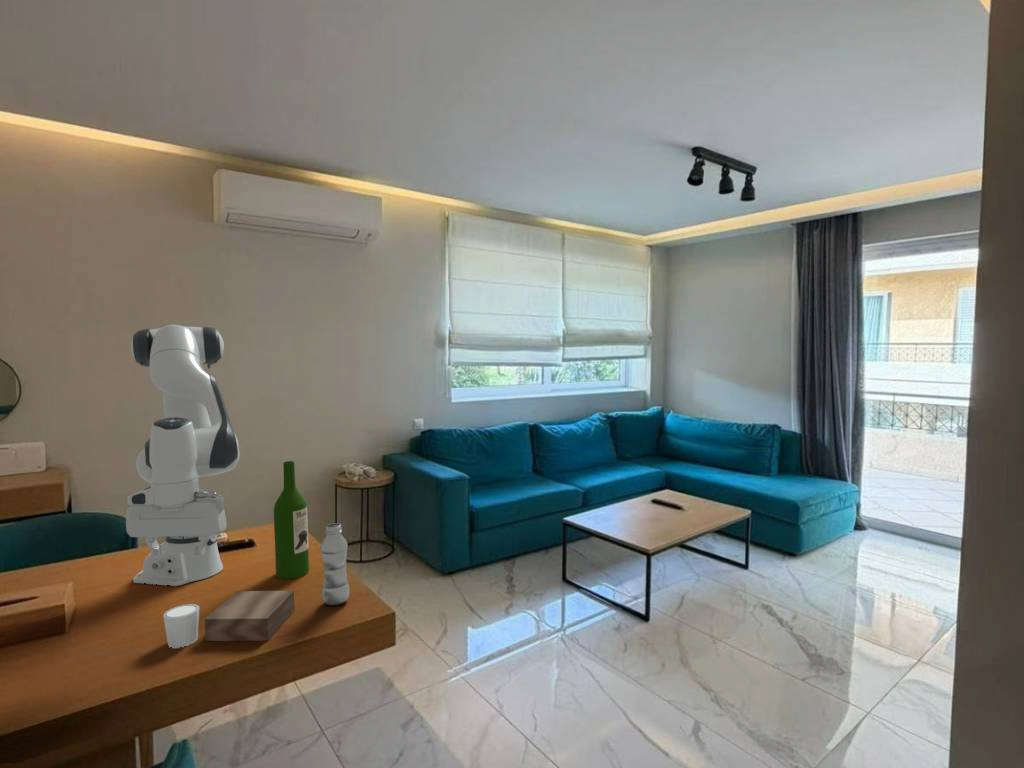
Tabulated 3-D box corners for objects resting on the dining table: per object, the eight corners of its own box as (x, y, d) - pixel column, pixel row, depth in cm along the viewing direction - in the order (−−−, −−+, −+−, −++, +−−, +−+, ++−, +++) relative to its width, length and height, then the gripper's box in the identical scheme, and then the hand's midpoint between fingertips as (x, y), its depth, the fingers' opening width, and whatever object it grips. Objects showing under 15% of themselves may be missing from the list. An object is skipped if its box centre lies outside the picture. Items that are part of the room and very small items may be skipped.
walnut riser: (205, 641, 119) (204, 619, 119) (238, 611, 133) (237, 591, 133) (268, 640, 119) (267, 618, 118) (294, 610, 133) (293, 590, 132)
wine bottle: (296, 580, 150) (292, 465, 149) (269, 577, 153) (264, 464, 151) (315, 568, 159) (311, 459, 157) (289, 565, 161) (285, 458, 159)
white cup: (203, 631, 123) (202, 601, 123) (197, 646, 117) (196, 614, 117) (168, 637, 121) (167, 606, 120) (161, 652, 114) (159, 620, 114)
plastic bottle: (354, 601, 137) (352, 524, 136) (330, 611, 132) (327, 531, 131) (341, 594, 141) (339, 519, 140) (317, 603, 136) (314, 526, 135)
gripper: (230, 488, 120) (233, 549, 121) (140, 490, 120) (143, 550, 121) (215, 495, 114) (217, 559, 114) (119, 497, 114) (122, 561, 115)
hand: (178, 555), depth 118 cm, fingers open, 8 cm apart
